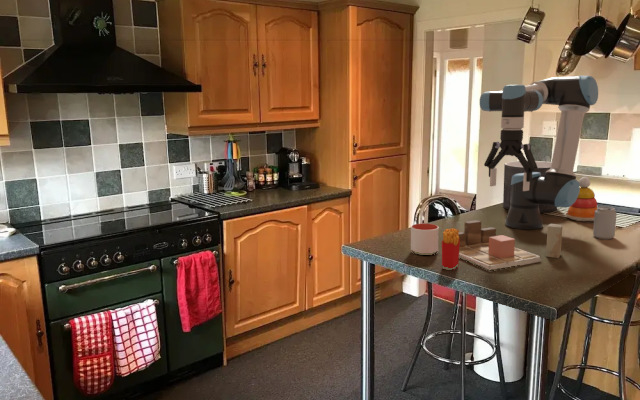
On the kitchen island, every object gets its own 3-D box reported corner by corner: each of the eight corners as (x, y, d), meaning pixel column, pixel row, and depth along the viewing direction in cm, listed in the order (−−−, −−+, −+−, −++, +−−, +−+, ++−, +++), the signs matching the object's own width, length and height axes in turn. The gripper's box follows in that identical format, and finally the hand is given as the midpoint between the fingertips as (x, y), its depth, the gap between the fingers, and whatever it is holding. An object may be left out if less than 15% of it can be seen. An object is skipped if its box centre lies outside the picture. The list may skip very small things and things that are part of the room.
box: (558, 258, 180) (560, 227, 178) (545, 256, 182) (547, 226, 180) (560, 254, 184) (562, 224, 182) (547, 252, 187) (549, 223, 185)
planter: (566, 207, 256) (570, 163, 252) (540, 216, 241) (543, 169, 236) (519, 200, 276) (521, 159, 271) (492, 208, 260) (494, 164, 256)
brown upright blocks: (463, 246, 193) (464, 222, 191) (476, 244, 195) (477, 220, 193) (505, 263, 173) (507, 236, 171) (519, 260, 175) (520, 233, 174)
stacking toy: (589, 215, 240) (593, 173, 237) (607, 222, 226) (611, 178, 223) (559, 216, 240) (562, 174, 236) (575, 223, 226) (578, 179, 222)
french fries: (450, 272, 170) (451, 233, 167) (438, 269, 172) (439, 232, 170) (461, 264, 177) (462, 227, 174) (449, 262, 179) (450, 226, 177)
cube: (488, 253, 181) (489, 237, 180) (501, 251, 183) (502, 235, 182) (500, 258, 175) (501, 241, 174) (514, 255, 178) (515, 239, 176)
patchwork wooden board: (448, 249, 191) (448, 233, 189) (491, 242, 198) (491, 227, 197) (489, 266, 171) (489, 249, 169) (534, 258, 178) (535, 241, 177)
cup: (422, 258, 184) (422, 231, 182) (405, 251, 193) (405, 225, 191) (444, 254, 189) (444, 227, 187) (426, 247, 198) (426, 222, 196)
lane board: (445, 252, 191) (445, 247, 190) (492, 244, 199) (492, 239, 199) (489, 271, 169) (489, 266, 169) (540, 261, 177) (540, 256, 177)
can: (617, 240, 199) (619, 210, 197) (596, 239, 201) (598, 209, 199) (610, 235, 207) (613, 205, 204) (590, 234, 208) (592, 205, 206)
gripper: (476, 128, 191) (473, 185, 195) (538, 131, 171) (534, 194, 175) (488, 127, 195) (486, 183, 199) (551, 129, 175) (547, 191, 179)
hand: (508, 188), depth 187 cm, fingers open, 13 cm apart
